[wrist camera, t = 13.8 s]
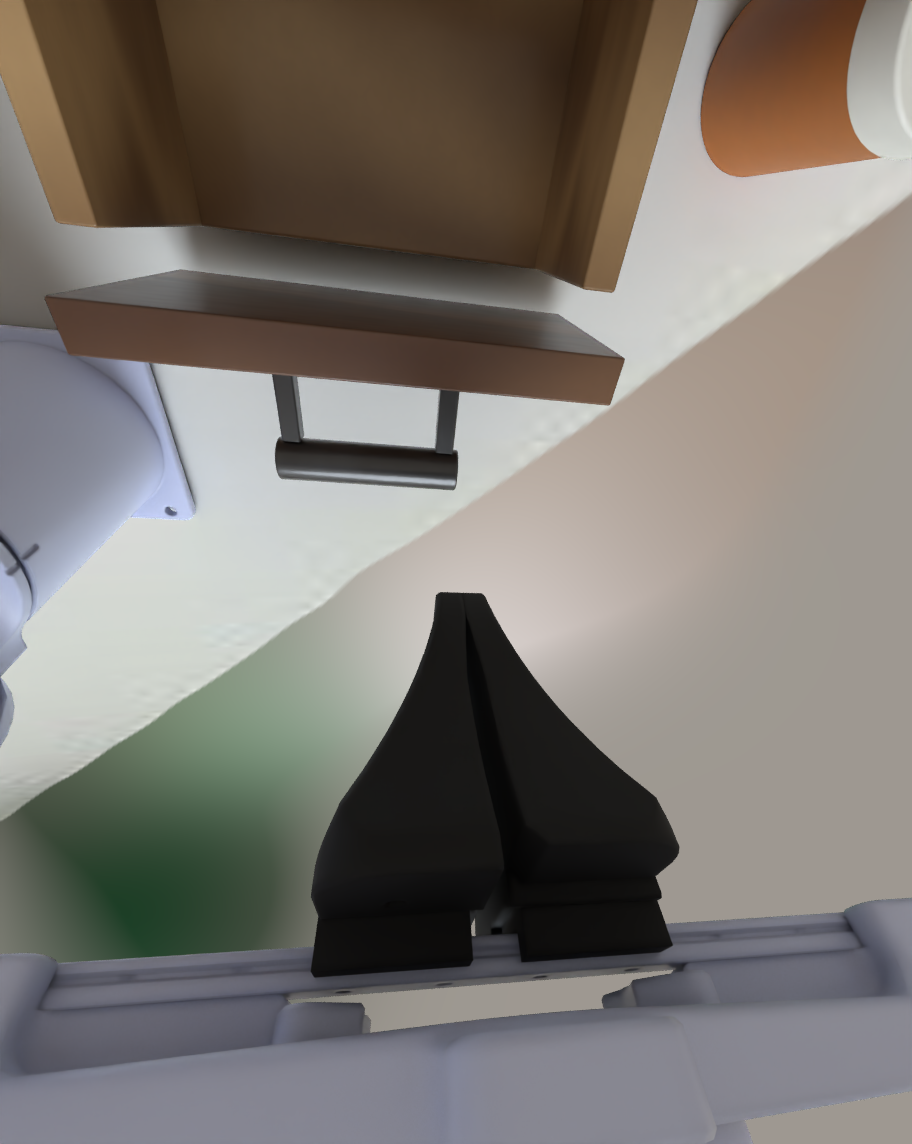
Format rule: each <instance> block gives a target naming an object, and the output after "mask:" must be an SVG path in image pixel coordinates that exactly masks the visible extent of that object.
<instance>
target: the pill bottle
mask: <svg viewBox="0 0 912 1144" xmlns="http://www.w3.org/2000/svg"><path fill="white" fill-rule="evenodd" d="M701 128H702V136H703V141H704V145H705V147H706V150H707V153H708V155H709V156H710V158H711V160H712V161H713V163H714V164H715V165H716V166H717V167H718V168H719V169H720V170H722V171H723V172H725V173H727V174H729V175H732V176H736V177H748V176H756V175H763V174H770V173H777V172H784V171H791V170H798V169H805V168H812V167H819V166H826V165H834V164H841V163H848V162H855V161H862V160H869V159H876V158H886V159H889V160H908V159H912V0H751V1H750V2H749V3H748V4H747V5H746V7H745V8H744V9H743V10H742V11H741V13H740V14H739V15H738V17H737V18H736V19H735V21H734V22H733V24H732V25H731V27H730V28H729V30H728V31H727V33H726V35H725V37H724V38H723V40H722V42H721V44H720V46H719V48H718V50H717V53H716V55H715V57H714V59H713V62H712V65H711V68H710V70H709V73H708V77H707V80H706V84H705V88H704V94H703V99H702V108H701Z"/></svg>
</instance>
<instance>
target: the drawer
mask: <svg viewBox="0 0 912 1144" xmlns="http://www.w3.org/2000/svg"><path fill="white" fill-rule="evenodd" d="M697 1H698V0H0V74H1V77H2V80H3V82H4V85H5V88H6V90H7V93H8V96H9V98H10V101H11V104H12V106H13V109H14V112H15V114H16V117H17V120H18V122H19V125H20V128H21V130H22V133H23V136H24V139H25V141H26V144H27V147H28V149H29V152H30V155H31V157H32V160H33V163H34V165H35V168H36V171H37V173H38V176H39V179H40V181H41V184H42V187H43V189H44V192H45V195H46V197H47V200H48V203H49V205H50V208H51V211H52V213H53V216H54V219H55V220H56V222H58V223H62V224H70V225H78V226H86V227H94V228H114V227H182V226H204V227H212V228H220V229H228V230H235V231H243V232H251V233H258V234H266V235H274V236H281V237H289V238H297V239H304V240H312V241H320V242H328V243H335V244H343V245H351V246H358V247H366V248H374V249H381V250H389V251H397V252H404V253H412V254H420V255H428V256H435V257H443V258H451V259H458V260H466V261H474V262H481V263H489V264H497V265H504V266H512V267H520V268H528V269H535V270H538V271H540V272H543V273H545V274H548V275H550V276H553V277H555V278H558V279H560V280H563V281H565V282H568V283H570V284H572V285H575V286H577V287H580V288H582V289H586V290H594V291H602V292H610V293H612V292H614V290H615V287H616V284H617V280H618V277H619V273H620V270H621V266H622V263H623V259H624V256H625V252H626V249H627V245H628V242H629V238H630V235H631V231H632V228H633V224H634V221H635V217H636V214H637V210H638V207H639V203H640V200H641V196H642V193H643V190H644V186H645V183H646V179H647V176H648V172H649V169H650V165H651V162H652V158H653V155H654V151H655V148H656V144H657V141H658V137H659V134H660V130H661V127H662V123H663V120H664V116H665V113H666V109H667V106H668V102H669V99H670V95H671V92H672V88H673V85H674V81H675V78H676V74H677V71H678V67H679V64H680V60H681V57H682V53H683V50H684V47H685V43H686V40H687V36H688V33H689V29H690V26H691V22H692V19H693V15H694V12H695V8H696V5H697ZM45 301H46V303H47V306H48V308H49V310H50V313H51V315H52V317H53V320H54V322H55V324H56V327H57V329H58V332H59V334H60V336H61V339H62V341H63V343H64V346H65V348H66V350H67V353H68V354H69V355H72V356H82V357H93V358H104V359H115V360H125V361H136V362H147V363H158V364H168V365H179V366H190V367H201V368H211V369H222V370H233V371H243V372H254V373H265V374H272V377H273V383H274V390H275V396H276V403H277V409H278V416H279V422H280V429H281V435H282V437H279V438H278V440H277V443H276V448H275V463H276V469H277V473H278V475H279V477H280V478H281V479H290V480H305V481H321V482H336V483H351V484H366V485H382V486H397V487H412V488H427V489H443V490H455V487H456V483H457V474H458V452H457V450H453V446H454V437H455V428H456V419H457V409H458V400H459V392H469V393H480V394H490V395H501V396H512V397H523V398H533V399H544V400H555V401H565V402H576V403H587V404H598V405H610V403H611V400H612V397H613V394H614V391H615V388H616V385H617V382H618V379H619V376H620V373H621V370H622V367H623V364H624V361H625V359H624V358H623V357H622V356H620V355H619V354H617V353H616V352H614V351H613V350H611V349H610V348H608V347H607V346H605V345H604V344H602V343H601V342H599V341H598V340H596V339H595V338H593V337H591V336H590V335H588V334H587V333H585V332H584V331H582V330H581V329H579V328H578V327H576V326H575V325H573V324H572V323H570V322H569V321H567V320H566V319H564V318H563V317H561V316H560V315H558V314H552V313H544V312H536V311H527V310H519V309H510V308H502V307H493V306H485V305H476V304H468V303H459V302H451V301H442V300H434V299H425V298H417V297H408V296H400V295H391V294H383V293H375V292H366V291H358V290H349V289H341V288H332V287H324V286H315V285H307V284H298V283H290V282H281V281H273V280H264V279H256V278H247V277H239V276H230V275H222V274H214V273H205V272H197V271H188V270H176V271H170V272H165V273H160V274H155V275H150V276H145V277H139V278H134V279H129V280H124V281H119V282H114V283H108V284H103V285H98V286H93V287H88V288H83V289H78V290H72V291H67V292H62V293H57V294H52V295H47V296H45ZM297 377H308V378H319V379H329V380H340V381H351V382H362V383H372V384H383V385H394V386H404V387H415V388H426V389H437V390H439V400H438V413H437V425H436V438H435V448H424V447H411V446H398V445H385V444H372V443H359V442H346V441H333V440H320V439H307V438H303V437H304V431H303V422H302V414H301V406H300V397H299V389H298V380H297Z"/></svg>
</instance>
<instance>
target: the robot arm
mask: <svg viewBox="0 0 912 1144" xmlns="http://www.w3.org/2000/svg"><path fill="white" fill-rule="evenodd" d="M169 507H172V508H174V509H175V510H176V512H175V511H172V510H171V509H170V508H169ZM195 513H196V509H195V505H194V502H193V499H192V496H191V493H190V490H189V487H188V483H187V480H186V477H185V474H184V471H183V468H182V465H181V461H180V458H179V455H178V452H177V449H176V446H175V443H174V439H173V436H172V433H171V430H170V427H169V424H168V421H167V417H166V414H165V411H164V408H163V405H162V402H161V399H160V395H159V392H158V389H157V386H156V383H155V380H154V377H153V373H152V370H151V367H150V364H149V363H147V362H136V361H125V360H115V359H104V358H93V357H82V356H72V355H69V354H68V353H67V350H66V348H65V346H64V343H63V341H62V339H61V336H60V334H59V332H58V330H50V329H40V328H30V327H20V326H10V325H0V746H1V745H2V743H3V741H4V740H5V738H6V736H7V734H8V732H9V729H10V726H11V723H12V721H13V714H14V702H13V697H12V693H11V691H10V689H9V688H8V686H7V684H6V683H5V682H4V681H3V680H2V678H1V676H2V675H3V674H4V672H5V671H6V670H7V669H8V668H9V667H10V666H11V665H12V664H13V663H14V662H15V661H16V659H17V658H18V657H19V656H20V655H21V654H22V653H23V652H24V651H25V650H26V649H27V646H26V644H25V642H24V641H23V639H22V635H21V633H22V628H23V626H24V624H25V622H26V621H28V620H29V619H30V618H31V617H32V616H33V615H34V614H35V613H36V612H37V611H38V610H39V609H40V608H41V607H42V606H43V605H44V604H45V603H46V602H47V601H48V600H49V599H50V598H51V597H52V596H53V595H54V594H55V593H56V592H57V591H58V590H59V589H60V588H61V587H62V586H63V585H64V584H65V583H66V581H67V580H68V579H69V578H70V577H71V576H72V575H73V574H74V573H75V572H76V571H77V570H78V569H79V568H80V567H81V566H82V565H83V564H84V563H85V562H86V561H87V560H88V559H89V558H90V557H91V556H92V555H93V554H94V553H95V552H96V551H97V550H98V549H99V548H100V547H101V546H102V545H103V544H104V543H105V542H106V541H107V540H108V539H109V538H110V537H111V536H112V535H113V534H114V533H115V532H116V531H117V530H118V529H119V528H120V527H121V526H122V525H123V524H124V523H125V522H126V521H127V520H128V519H129V518H130V517H135V518H154V519H172V520H189V519H191V518H192V517H193V516H194V515H195ZM434 611H435V612H434V621H433V625H432V629H431V633H430V636H429V639H428V643H427V646H426V649H425V652H424V654H423V657H422V660H421V662H420V665H419V667H418V670H417V673H416V675H415V677H414V680H413V682H412V684H411V686H410V689H409V691H408V693H407V695H406V697H405V699H404V701H403V703H402V705H401V707H400V709H399V711H398V712H397V714H396V716H395V718H394V720H393V722H392V724H391V725H390V727H389V729H388V731H387V732H386V734H385V736H384V737H383V739H382V741H381V742H380V744H379V746H378V747H377V749H376V751H375V752H374V754H373V755H372V757H371V758H370V760H369V761H368V763H367V765H366V766H365V768H364V769H363V771H362V772H361V774H360V775H359V776H358V778H357V779H356V781H355V782H354V784H353V785H352V786H351V788H350V789H349V791H348V792H347V793H346V795H345V796H344V798H343V799H342V800H341V802H340V803H339V806H338V809H337V811H336V813H335V815H334V817H333V819H332V821H331V823H330V826H329V828H328V830H327V832H326V835H325V837H324V840H323V842H322V845H321V848H320V850H319V854H318V857H317V861H316V865H315V871H314V878H313V885H312V892H311V898H312V901H313V903H314V906H315V908H316V911H317V913H318V924H317V930H316V937H315V944H314V947H302V948H287V949H270V950H255V951H240V952H224V953H209V954H193V955H179V956H163V957H148V958H132V959H116V960H101V961H85V962H71V963H57V961H56V960H55V959H53V958H51V957H49V956H46V955H42V954H34V953H13V954H0V1144H753V1142H752V1139H751V1136H750V1134H749V1131H748V1128H747V1125H746V1123H745V1120H748V1119H753V1118H759V1117H765V1116H771V1115H776V1114H782V1113H787V1112H794V1111H799V1110H805V1109H811V1108H816V1107H821V1106H828V1105H834V1104H839V1103H845V1102H851V1101H857V1100H862V1099H868V1098H874V1097H880V1096H886V1095H891V1094H897V1093H903V1092H909V1091H912V898H902V899H886V900H874V901H868V902H864V903H860V904H857V905H854V906H852V907H850V908H847V909H846V910H845V911H844V912H841V913H826V914H810V915H795V916H780V917H765V918H748V919H733V920H719V921H718V920H717V921H703V922H687V923H671V924H665V921H664V918H663V915H662V912H661V910H660V907H659V904H658V901H657V900H659V899H661V898H662V896H661V890H660V888H659V885H658V882H657V879H656V877H655V876H656V875H658V874H659V873H660V872H661V871H662V870H664V868H666V867H667V866H668V865H670V864H671V863H672V862H673V860H675V858H676V857H677V855H678V853H679V844H678V842H677V840H676V837H675V835H674V833H673V830H672V828H671V825H670V823H669V821H668V819H667V817H666V815H665V813H664V812H663V810H662V808H661V806H660V804H659V802H658V800H657V798H656V797H655V796H654V795H652V794H651V793H650V792H649V791H648V790H646V789H645V788H644V787H643V786H641V785H640V784H639V783H638V782H636V781H635V780H634V779H633V778H631V777H630V776H629V775H628V774H626V773H625V772H624V771H623V770H622V769H620V768H619V767H618V766H617V765H616V764H615V763H614V762H612V761H611V760H610V759H609V758H608V757H607V756H606V755H605V754H604V753H603V752H601V751H600V750H599V749H598V748H597V747H596V746H595V745H594V744H593V743H592V742H591V741H590V740H589V739H588V738H587V737H586V736H585V735H584V734H583V733H582V732H581V731H580V730H579V729H578V728H577V727H576V726H575V725H574V724H573V723H572V722H571V721H570V720H569V719H568V718H567V716H566V715H565V714H564V713H563V712H562V711H561V710H560V709H559V708H558V706H557V705H556V704H555V703H554V702H553V701H552V699H551V698H550V697H549V696H548V695H547V693H546V692H545V691H544V690H543V689H542V687H541V686H540V685H539V683H538V682H537V681H536V680H535V678H534V677H533V676H532V674H531V673H530V671H529V670H528V669H527V667H526V666H525V664H524V663H523V662H522V660H521V659H520V657H519V656H518V654H517V653H516V651H515V649H514V648H513V646H512V645H511V643H510V641H509V640H508V639H507V637H506V635H505V633H504V632H503V630H502V628H501V627H500V625H499V623H498V621H497V620H496V618H495V616H494V614H493V612H492V610H491V608H490V606H489V604H488V602H487V600H486V597H485V596H484V595H483V594H481V593H448V592H440V593H438V594H437V595H436V600H435V610H434ZM474 919H475V934H476V936H472V935H471V925H472V922H473V920H474ZM664 970H673V972H672V973H671V974H665V975H659V976H653V977H648V978H642V979H636V980H633V981H632V983H631V984H630V985H629V986H627V987H625V988H623V989H621V990H618V991H615V992H612V993H609V994H606V995H604V996H603V998H602V1003H603V1007H604V1009H591V1010H577V1011H564V1012H552V1013H541V1014H530V1015H519V1016H509V1017H499V1018H489V1019H480V1020H472V1021H463V1022H454V1023H446V1024H438V1025H430V1026H422V1027H414V1028H406V1029H397V1030H390V1031H381V1032H373V1033H370V1026H371V1020H370V1018H369V1017H368V1016H367V1015H364V1013H365V1012H364V1011H365V1008H364V1006H363V1005H362V1003H332V1002H327V1003H326V1002H306V1003H296V1004H291V1003H290V1002H289V1001H288V1000H293V999H306V998H318V997H331V996H344V995H357V994H370V993H383V992H395V991H408V990H420V989H433V988H446V987H459V986H471V985H485V984H498V983H510V982H523V981H536V980H549V979H560V978H574V977H587V976H600V975H613V974H625V973H638V972H651V971H664Z"/></svg>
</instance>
